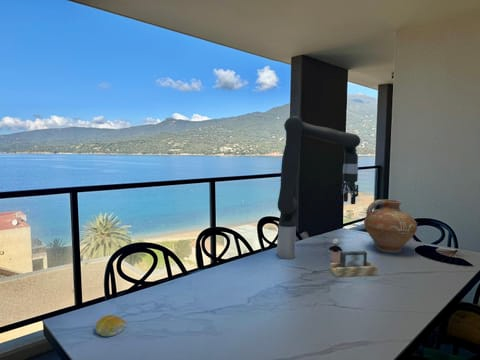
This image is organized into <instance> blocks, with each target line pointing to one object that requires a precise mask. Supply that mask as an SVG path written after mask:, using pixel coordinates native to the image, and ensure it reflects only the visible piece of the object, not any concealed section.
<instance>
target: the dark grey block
mask: <svg viewBox="0 0 480 360" xmlns="http://www.w3.org/2000/svg"><path fill="white" fill-rule="evenodd" d="M339 254H340V267H360V266H366V263H367V262H368V261H367V259H368V258H367V256H368V252H367V251H365V250H354V251H353V250H351V251H343V252H340V251H339Z"/></svg>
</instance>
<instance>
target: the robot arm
mask: <svg viewBox="0 0 480 360" xmlns="http://www.w3.org/2000/svg"><path fill="white" fill-rule="evenodd" d="M283 128H284V130H285V145H284V149H283V154H282V159H281V169H280V188H279V189H280V190H279V194H278V200H277V210H278V212H280V216H279V219H278V231H277V232H278V237H277V238H276V239H277V241H276V244H277V245H276V256H277V257H278V258H279V259H284V260H290V259H294V258H295V257H296V236H297V235H296V233H297V232H296V231H297V228H296V227H297V219H298V201H297V199H296V197H294V192H295V187H296V182H297V179H298V175H299V170H300V159H301V158H300V157H301V156H300V154H301V139H302V136H306V137H310V138H314V139H317V140H321V141H324V142H327V143H331V144H333V145H334V144H335V145H342V149H343V155H344V156H343V165H342V183H341V194H342V195H343V202H345V203H347V202H348V201H349V194H350V204H351V205H356V200H357V199H356V197H359V184H356V182H358V181H359V179H358V177H359V164H358V163H359V161H358V160H359V155H358V153H357V147H358V146H360V144H361V138H360V136H359V135H357V134H355V133H352V132H345V131H340V130H337V129H334V128H330V127H326V126H319V125H314V124H310V123H307V122H304V121H303V119H301V117H299V116H298V115H293V116H289V117H288V118H287V119H286V120H285V121H284V124H283Z"/></svg>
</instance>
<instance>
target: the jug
mask: <svg viewBox="0 0 480 360" xmlns="http://www.w3.org/2000/svg"><path fill="white" fill-rule="evenodd" d="M400 205H402V201H401V200H398V199H376V200H374V201H372V202H371V203H370V204H369V205H368V206H367V208H366V213H365V214H366V215H365V218H364V219H363V220H364V221H363V224H364V227H365V231H366V232H367V233H368V235H369V236H370V238H371V239H372V240H373V242H374V243H375V244H376V249H377V250H379V251H380V252H384V253H390V254H391V253H393V254H396V253H401V252H402V251H401V250H402V249H401V248H402V247H404V246H405V245H406V244H407V243H408V242H409V241H410V240H411V239H412V238H413V237H414V235H415V234H416V232H417V229H418V224H417V221H416V220H415V218H413V216H412V215H410V214H409V213H407V212H405V211H404V210H401V209H400ZM377 206H382V207H381V208H378V209H375V207H377ZM374 209H375V210H374Z"/></svg>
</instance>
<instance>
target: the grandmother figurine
mask: <svg viewBox="0 0 480 360" xmlns="http://www.w3.org/2000/svg"><path fill="white" fill-rule="evenodd" d="M339 243H340V241H339V239H338V238H334V239H333V240H332V246H330V247H329V248H328V250H327V253H330V252H331V251H332V252H331V263H340V252H344V251H343V249H342V247H340V246H339Z"/></svg>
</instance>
